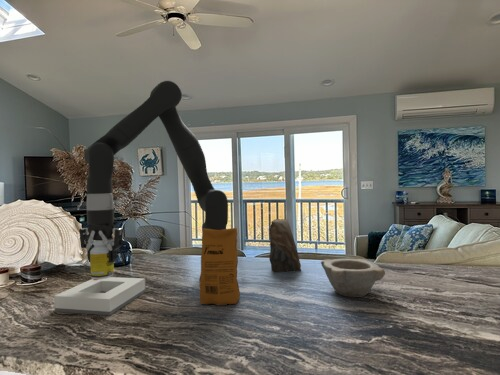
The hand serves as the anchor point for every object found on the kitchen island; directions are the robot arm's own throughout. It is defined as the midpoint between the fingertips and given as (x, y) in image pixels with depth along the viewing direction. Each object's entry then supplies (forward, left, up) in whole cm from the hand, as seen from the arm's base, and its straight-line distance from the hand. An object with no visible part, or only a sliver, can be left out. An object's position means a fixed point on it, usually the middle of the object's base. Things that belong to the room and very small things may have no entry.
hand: (102, 261), depth 94 cm
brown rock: (-53, -41, -12) cm, 68 cm away
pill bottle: (0, 0, -5) cm, 5 cm away
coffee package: (-36, -6, -13) cm, 39 cm away
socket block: (0, 0, -12) cm, 12 cm away
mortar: (-76, -18, -13) cm, 79 cm away
